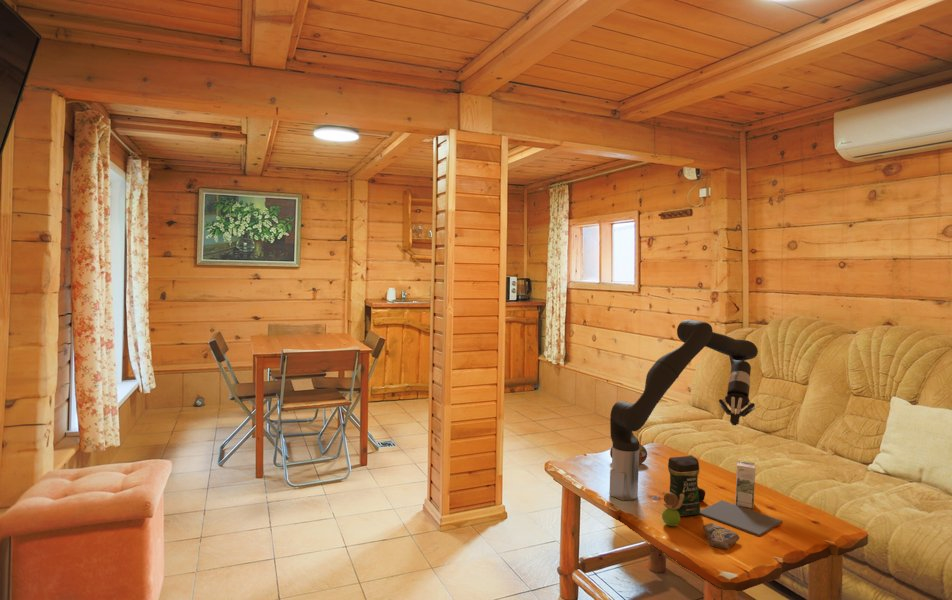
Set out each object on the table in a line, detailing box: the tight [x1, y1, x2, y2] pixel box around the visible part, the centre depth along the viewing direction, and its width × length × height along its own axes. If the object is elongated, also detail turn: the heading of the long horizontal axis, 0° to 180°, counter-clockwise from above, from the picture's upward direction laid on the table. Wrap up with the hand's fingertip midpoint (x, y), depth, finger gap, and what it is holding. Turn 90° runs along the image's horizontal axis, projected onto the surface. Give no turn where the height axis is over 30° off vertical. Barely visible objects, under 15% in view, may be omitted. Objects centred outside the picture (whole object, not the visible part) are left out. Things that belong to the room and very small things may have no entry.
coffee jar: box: [667, 455, 701, 517], centre depth 187 cm, size 10×8×19 cm
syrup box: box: [734, 460, 757, 510], centre depth 194 cm, size 6×6×14 cm
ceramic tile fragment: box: [701, 522, 740, 550], centre depth 168 cm, size 12×3×10 cm
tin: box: [609, 443, 648, 465], centre depth 235 cm, size 15×3×8 cm, turn 90°
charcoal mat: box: [698, 499, 783, 537], centre depth 184 cm, size 16×20×1 cm
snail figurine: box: [661, 490, 685, 527], centre depth 177 cm, size 5×6×12 cm
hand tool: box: [698, 486, 706, 502], centre depth 208 cm, size 23×5×6 cm, turn 0°
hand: (734, 424), depth 208 cm, fingers closed
